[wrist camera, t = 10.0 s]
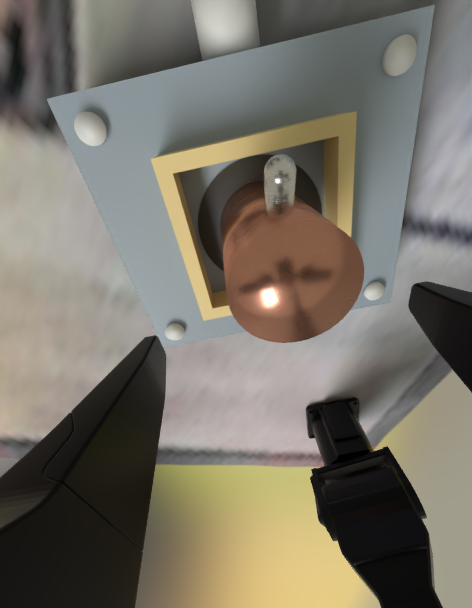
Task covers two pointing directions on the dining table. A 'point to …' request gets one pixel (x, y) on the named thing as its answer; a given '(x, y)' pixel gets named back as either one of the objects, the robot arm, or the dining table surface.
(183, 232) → the grey plate with frame
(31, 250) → the dining table surface
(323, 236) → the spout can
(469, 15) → the dining table surface
